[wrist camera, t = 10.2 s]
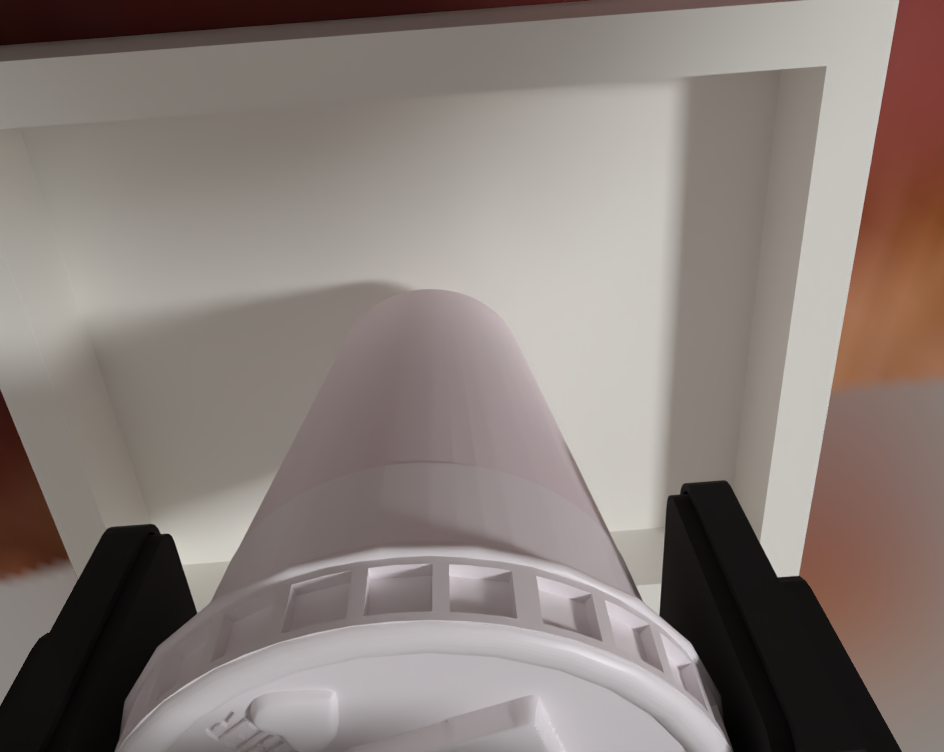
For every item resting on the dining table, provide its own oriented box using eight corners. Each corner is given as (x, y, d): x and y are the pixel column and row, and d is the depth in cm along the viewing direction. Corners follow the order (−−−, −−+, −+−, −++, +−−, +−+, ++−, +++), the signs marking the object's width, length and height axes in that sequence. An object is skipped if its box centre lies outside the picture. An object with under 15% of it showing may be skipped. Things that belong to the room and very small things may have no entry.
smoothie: (649, 297, 16) (1389, 1620, 4) (506, 535, 18) (643, 1737, 6) (333, 163, 14) (-285, 1663, 2) (229, 445, 17) (-295, 1789, 5)
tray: (832, -19, 15) (900, -8, 13) (756, 534, 21) (793, 604, 19) (-46, 49, 15) (-129, 71, 13) (143, 582, 21) (110, 658, 19)
